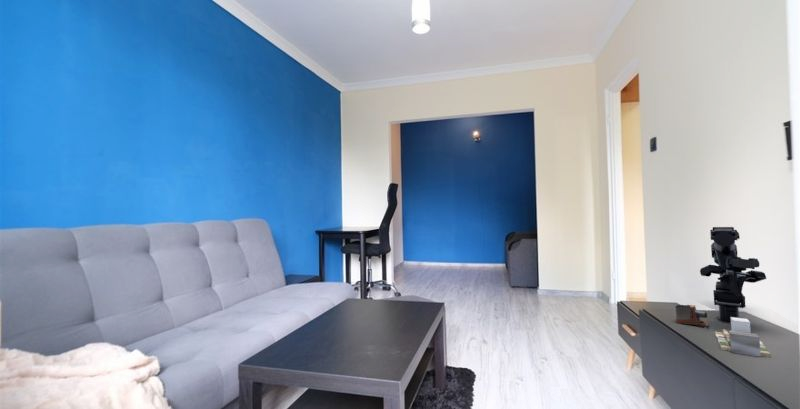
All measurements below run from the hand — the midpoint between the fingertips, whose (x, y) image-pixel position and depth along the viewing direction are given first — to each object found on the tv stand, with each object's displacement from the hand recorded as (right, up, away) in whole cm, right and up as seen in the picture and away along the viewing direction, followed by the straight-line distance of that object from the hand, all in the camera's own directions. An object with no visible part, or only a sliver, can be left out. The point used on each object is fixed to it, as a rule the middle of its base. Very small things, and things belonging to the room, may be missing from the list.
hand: (738, 295), depth 123 cm
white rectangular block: (-13, -12, -12) cm, 22 cm away
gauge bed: (-11, -14, -11) cm, 21 cm away
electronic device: (-9, -14, +10) cm, 19 cm away
